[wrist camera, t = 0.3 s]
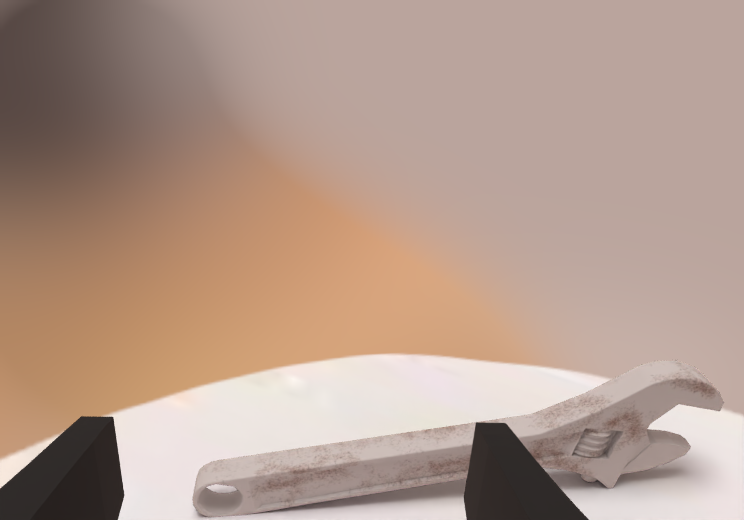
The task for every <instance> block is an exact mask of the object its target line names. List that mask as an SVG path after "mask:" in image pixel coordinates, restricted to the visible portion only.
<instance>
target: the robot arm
mask: <svg viewBox="0 0 744 520" xmlns="http://www.w3.org/2000/svg"><path fill="white" fill-rule="evenodd" d="M123 498H124V490H123V483H122V476H121V469H120V462H119V455H118V447H117V440H116V433H115V426H114V419H113V417H80V418H79V419H78V420H77V421H76V422H75V423H73V424H72V425H71V426H70V427H69V428H68V429H66V430H65V431H64V432H63V433H62V434H61V435H60V436H59V437H58V438H57V439H55V440H54V441H53V442H52V443H51V444H50V445H49V446H48V447H47V448H46V449H44V450H43V451H42V452H41V453H40V454H39V455H38V456H37V457H36V458H34V459H33V460H32V461H31V462H30V463H29V464H28V465H27V466H26V467H24V468H23V469H22V470H21V471H20V472H19V473H18V474H16V475H15V476H14V477H13V478H12V479H11V480H10V481H8V482H7V483H6V484H5V485H4V486H3V487H2V488H0V520H118V517H119V513H120V509H121V506H122V502H123ZM464 503H465V510H466V517H467V520H589V519H588V518H587V517H586V516H585V515H584V514H583V513H582V512H581V511H580V510H579V509H578V508H577V507H576V506H575V505H574V503H573V502H572V501H571V500H570V499H569V498H568V497H567V496H566V494H565V493H564V492H563V491H562V490H561V489H560V488H559V487H558V485H557V484H556V483H555V482H554V481H553V480H552V479H551V477H550V476H549V475H548V474H547V473H546V471H545V470H544V469H543V468H542V467H541V465H540V464H539V463H538V462H537V461H536V459H535V458H534V457H533V456H532V455H531V453H530V452H529V451H528V450H527V448H526V447H525V446H524V445H523V443H522V442H521V441H520V440H519V438H518V437H517V436H516V435H515V433H514V432H513V431H512V430H511V429H510V427H509V426H508V425H507V424H506V423H483V422H476V425H475V431H474V438H473V444H472V450H471V456H470V462H469V469H468V475H467V481H466V487H465V493H464Z"/></svg>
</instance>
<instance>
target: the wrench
mask: <svg viewBox="0 0 744 520" xmlns="http://www.w3.org/2000/svg"><path fill="white" fill-rule="evenodd" d="M723 403H724V402H723V400H722V397H721V395H720V392H719V391H718V390H717V389H716V388H715V387H714V386H713V384H712V383H711V382H710V381H709V380H708V379H707V377H706V376H705V375H703V373H702V372H700V371H699V370H698V369H697V368H696V367H695V366H692V365H689V364H685V363H683V362H680V361H677V360H669V361H654V362H650V363H647V364H642V365H639V366H637V367H635V368H633V369H631V370H629V371H628V372H626V373H624V374H622V375H620V376H618V377H616V378H614V379H612V380H610V381H608V382H606V383H604V384H602V385H600V386H598V387H596V388H594V389H592V390H590V391H588V392H586V393H584V394H581V395H579V396H576V397H574V398H571V399H569V400H566V401H564V402H561V403H558V404H556V405H553V406H551V407H548V408H546V409H543V410H541V411H538V412H536V413H533V414H530V415H523V416H516V417H510V418H503V419H496V420H489V421H482V422H483V423H506V424H507V425H508V426H509V427H510V429H511V430H512V431H513V432H514V433H515V435H516V436H517V437H518V438H519V440H520V441H521V442H522V443H523V445H524V446H525V447H526V448H527V450H528V451H529V452H530V453H531V455H532V456H533V457H534V458H535V459H536V461H537V462H538V463H539V464H540V465H541V467H542V468H550V469H563V470H568V471H572V472H576V473H579V474H582V479H583V480H585V481H587V482H596V481H597V480H599V481H600V482H601V483H602V484H604V485H605V486H606V487H607V488H609V489H611V488H613V487H614V485H615V483H616V481H617V480H618V478H619V476H620V475H621V474H626V473H632V472H638V471H644V470H648V469H651V468H654V467H657V466H660V465H663V464H665V463H668V462H670V461H673V460H675V459H677V458H679V457H681V456H683V455H685V454H686V453H687V452H688V450H689V449H690V447H691V446H690V445H689V443H688V442H687V441H686V439H685V438H683V437H682V436H681V435H678V434H675V433H671V432H668V431H661V430H649V429H647V428H648V427H649V425H650V424H651V423H652V422H653V421H655V420H656V419H658V418H659V417H661V416H662V415H664V414H665V413H666V412H668V411H669V410H671V409H672V408H674V407H675V406H676V405H678V404H681V405H687V406H693V407H699V408H704V409H710V410H716V411H720V410H721V408H722V406H723ZM475 425H476V423H469V424H462V425H455V426H448V427H442V428H435V429H428V430H421V431H414V432H407V433H401V434H394V435H387V436H380V437H373V438H367V439H360V440H353V441H346V442H339V443H332V444H326V445H319V446H312V447H305V448H298V449H292V450H285V451H278V452H271V453H264V454H258V455H251V456H244V457H237V458H231V459H223V460H217V461H213V462H210V463H208V464H206V465H204V466H203V467H202V468H201V469H200V470H199V472H198V475H197V478H196V483H195V489H194V494H193V505H194V507H195V508H196V510H197V511H198V512H199V513H200V514H202V515H204V516H207V517H221V516H235V515H246V514H252V513H259V512H265V511H271V510H277V509H282V508H288V507H294V506H300V505H306V504H311V503H317V502H324V501H330V500H336V499H343V498H349V497H355V496H362V495H368V494H374V493H381V492H387V491H393V490H399V489H405V488H411V487H417V486H424V485H430V484H436V483H442V482H448V481H454V480H460V479H466V478H467V475H468V469H469V462H470V456H471V450H472V444H473V438H474V431H475ZM214 484H219V485H227V486H233V487H235V488H236V489H238V490H237V491H235V492H231V493H217V492H213V491H211V490H209V489H208V488H206V487H207V486H211V485H214Z"/></svg>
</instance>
